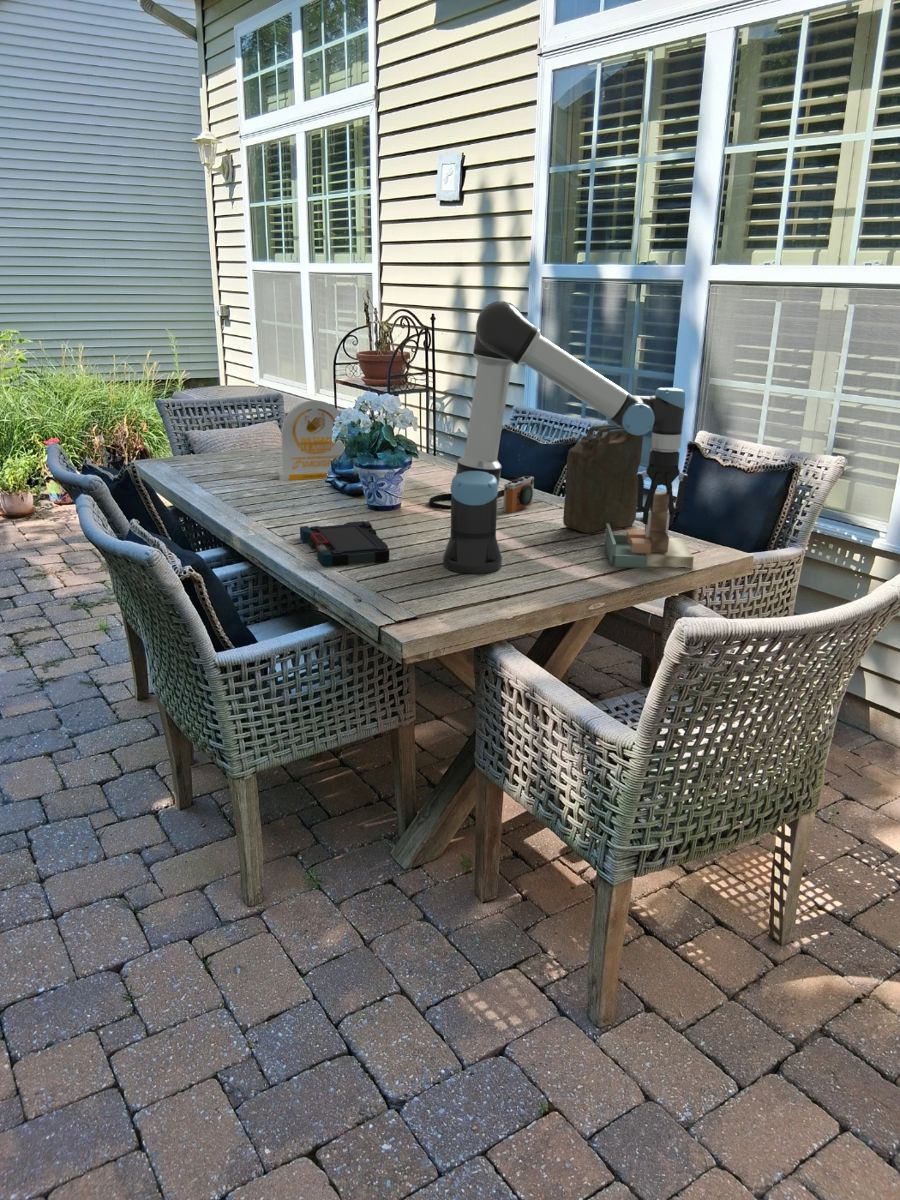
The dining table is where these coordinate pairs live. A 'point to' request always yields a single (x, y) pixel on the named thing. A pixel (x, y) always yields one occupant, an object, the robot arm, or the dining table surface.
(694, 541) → the dining table surface
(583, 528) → the container
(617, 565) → the box
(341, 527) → the electronic device
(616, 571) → the dining table surface
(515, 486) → the camera
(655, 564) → the beige slotted plate
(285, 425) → the award
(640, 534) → the tile back
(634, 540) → the tile front
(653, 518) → the t-shaped wooden block
